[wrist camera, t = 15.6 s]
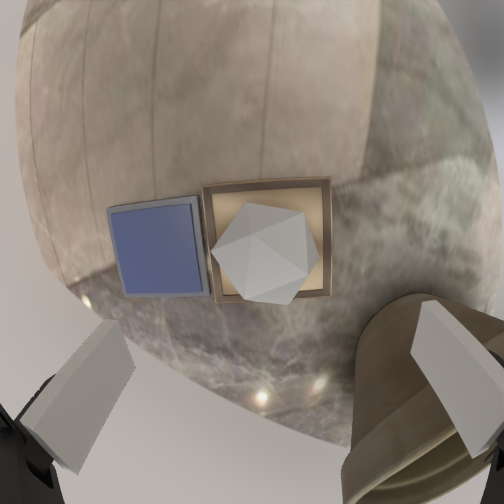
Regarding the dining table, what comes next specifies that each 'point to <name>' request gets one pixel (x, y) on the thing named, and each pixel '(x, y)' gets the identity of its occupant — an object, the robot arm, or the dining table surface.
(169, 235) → the ink pad
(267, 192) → the board
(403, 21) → the dining table surface
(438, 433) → the plant pot
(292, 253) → the die
